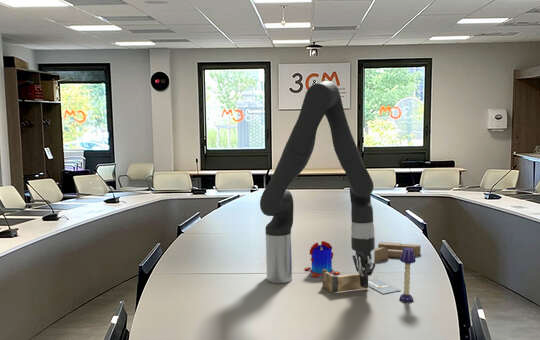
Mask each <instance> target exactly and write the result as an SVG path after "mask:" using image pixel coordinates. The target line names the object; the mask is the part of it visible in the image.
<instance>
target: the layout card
mask: <svg viewBox="0 0 540 340" xmlns="http://www.w3.org/2000/svg"><path fill="white" fill-rule="evenodd" d="M368 288H371V289H372V290H375V291H376V292H378V293H380V294H382V295H386V294H391V293H392V294H394V293H397V292H401V291H402V290H401V289H400V288H397V287H396V286H393V285H391V284H390V283H388V282H385V281H383V280H381V279H379V278H377V277H373V278H368Z"/></svg>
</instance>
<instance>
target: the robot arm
mask: <svg viewBox="0 0 540 340" xmlns="http://www.w3.org/2000/svg"><path fill="white" fill-rule="evenodd" d="M343 106H344V105H343V101H342V97H341V93H340V89H339V88H338V86H337V85H336V83H334V82H333V81H330V80H324V81H323V80H322V81H317V82H316V83H313V84H312V85H310V86H309V87H308V89H307V91H306V92H305V95H304V99H303V101H302V105H301V108H300V113H299V114H298V117H297V119H296V122H295V124H294V126H293V128H292V130H291V132H290V135H289V136H288V139H287V141H286V143H285V145H284V148H283V150H282V152H281V156H280V159H279V160H278V162H277V165H276V167H275V169H274V172H273V174H272V176H271V178H270V180H269V181H268V183H267V185H266V187H265V188H264V190H263V191H262V194H261V197H260V200H259V208H260V210H261V211H260V212H262V214H263V215H264V216H267V217H272V218H271V220H270V222H268V223H267V224H266V226H265V252H266V253H265V254H266V262H265V263H266V281H267V282H269V283H272V284H284V283H285V284H286V283H290V282H291V281H292V280H293V261H292V260H293V257H292V252H293V251H292V228H293V225H294V198H293V194H292V193H291V192H290V190H289V189H288V187H289V186H290V184H291V183H292V182H294V180H295V179H296V178H297V177H298V176H299V175H300V174H301V173H302V172H303V171H304V169H305V167H306V166H307V164H308V163H309V161H310V159H311V156H312V154H313V151H314V149H315V144H316V138H317V137H316V136H317V130H318V128H319V126H320V123H321V122H322V119H323V118H324V116H325V117H326V120H327V122H328V125H329V129H330V134H331V139H332V145H333V149H334V152H335V155H336V157H337V160H338V162H339V164H340V166H341V169H342V170H343V171H344V173H345V175H346V177H347V180H348V183H349V184H348V185H349V196H350V198H349V199H350V205H351V206H350V207H351V211H350V215H351V222H350V223H351V225H350V235H351V237H350V239H351V240H350V241H351V242H350V243H351V249H352V251H355V254H353V255H351V256H352V259H353V263H354V267H355V270H356V272H357V273H358V274H359V275H360V286H361V287H363V288H364V287H368V288H369V286H368V279H369V276H372V275H373V272H374V270H375V268H376V263H375V262H373V261H372V254H371V252H372V251H375V249H376V244H375V237H376V236H375V225H374V210H373V205H372V201H371V200H372V199H371V194H372V193H373V191H374V187H375V186H374V182H373V180H372V177H371V176H370V173H369V171H368V170H367V167H366V165H365V164H364V161H363V159H362V156H361V154H360V151H359V148H358V146H357V144H356V142H355V139H354V136H353V134H352V131H351V129H350V126H349V123H348V120H347V117H346V113H345V110H344V107H343Z"/></svg>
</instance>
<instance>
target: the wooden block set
mask: <svg viewBox="0 0 540 340" xmlns="http://www.w3.org/2000/svg"><path fill="white" fill-rule="evenodd" d="M421 246H422V245H421V244H411V243H401V242H389V241H388V242H387V241H380V242H378V246H377V247H375V249H374V250H373V251H374V253H373V254H374V262H375V261H376V262H380V261H385V260H389V258H395V259H400V258H401V255H402V252H403V249H404V248H412V249H413V251H414V255H417V256H420V255H421Z"/></svg>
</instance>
